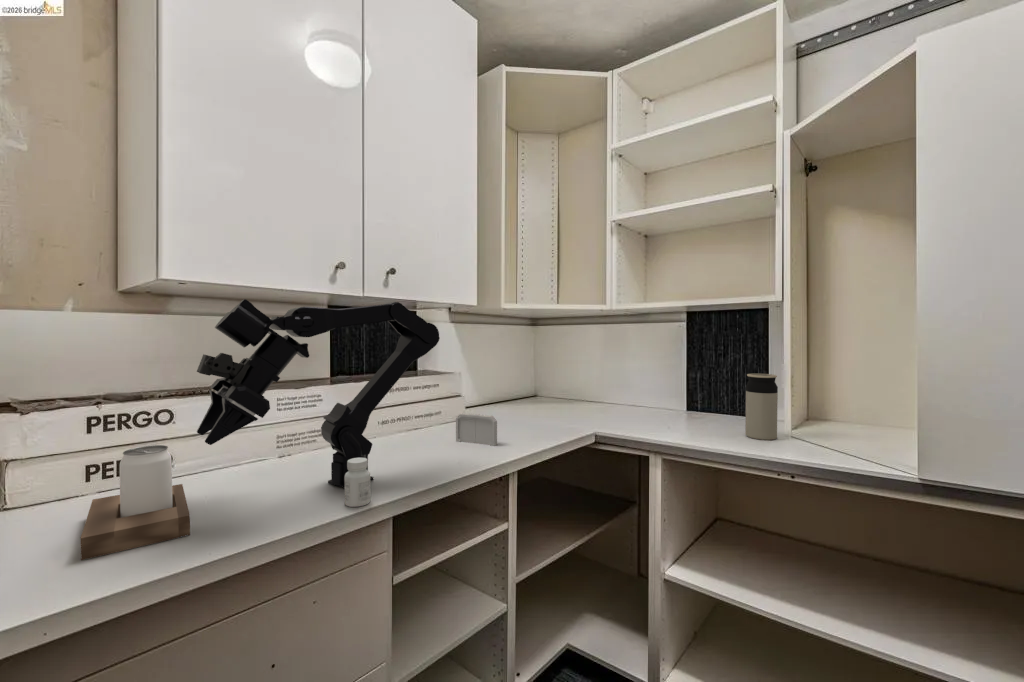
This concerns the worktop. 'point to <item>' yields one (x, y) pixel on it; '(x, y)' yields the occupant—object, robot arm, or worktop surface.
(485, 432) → the gray double door
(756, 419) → the travel mug
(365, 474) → the pill bottle
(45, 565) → the worktop surface
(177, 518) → the socket block
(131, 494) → the can
